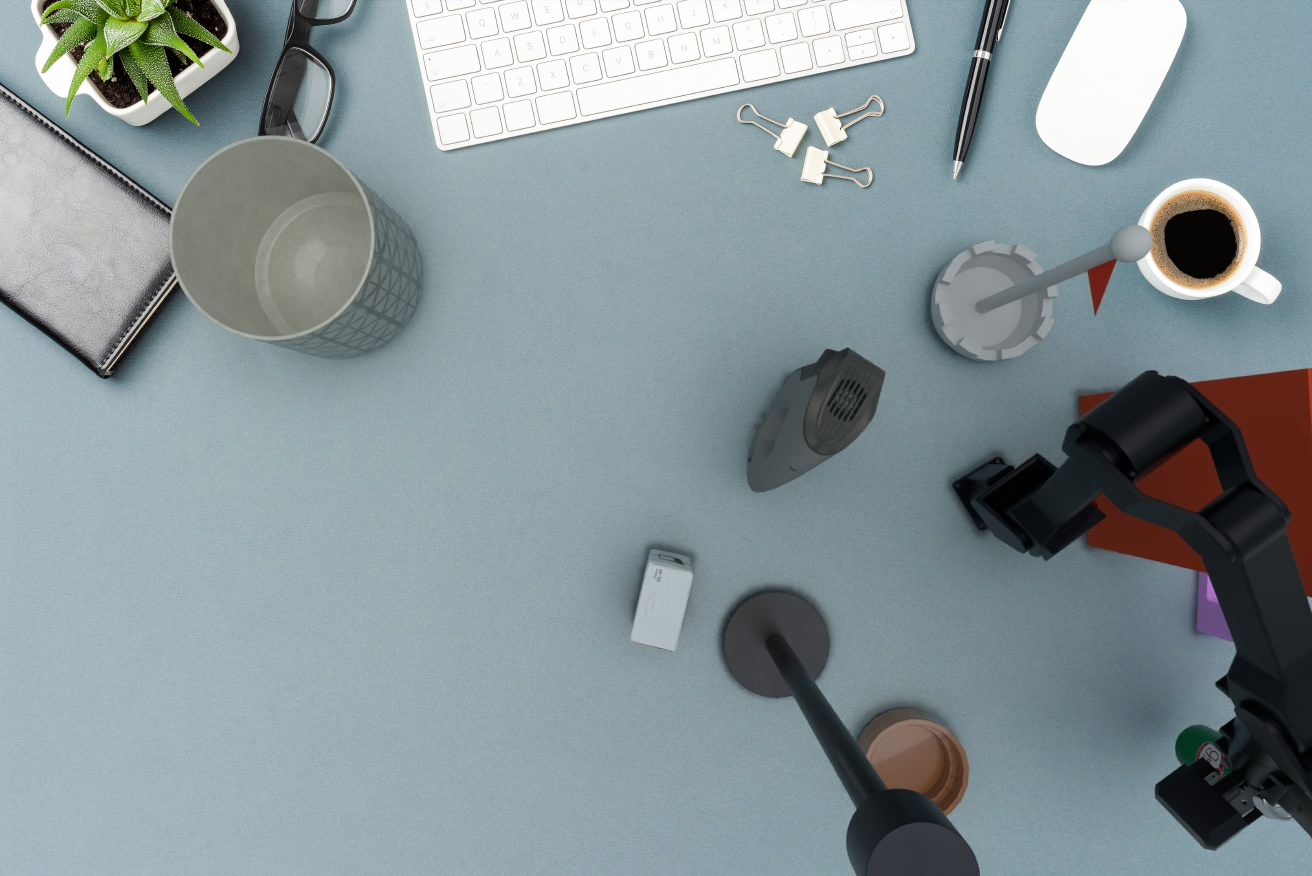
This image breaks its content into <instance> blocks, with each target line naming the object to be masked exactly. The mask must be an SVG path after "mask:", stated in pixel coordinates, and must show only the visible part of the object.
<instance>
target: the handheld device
mask: <svg viewBox="0 0 1312 876" xmlns="http://www.w3.org/2000/svg"><path fill="white" fill-rule="evenodd" d="M885 377H886V371H885V370H884V369H883V368H881V367H879V366H877V365H876V364H874V363H873V362H872V361H870V360H868V359H867V358H865V357H864V356H862V355H861V354H859V353H857V352H856V351H855V350H853V349H852V348H850V347H848V346H847V347H845V348H843V349H841V350H836V349H832V348H825V350H824V351H823V352H822V353H821V355H820V356H819V358H818V359H817V360H816V361H815V362H812V363H810V364H806V365H803V366H801V367H799V368H797V369H796V370H794V371H793V372H792V373H791V374H790V375H789V377H788V378H787V379H786V380H785V382H784V383H783V385H782V386H781V388H780V389H779V391H778V392H777V394H776V396H775V397H774V399H773V401H772V402H771V404H770V406H769V407H768V409H767V411H766V413H765V415H764V417H763V419H762V421H761V423H760V425H759V426H758V429H757V430H756V433H755V435H754V437H753V439H752V442H751V443H750V447H749V450H748V456H747V467H746V477H747V485H748V487H749V488H750V490H751V491H752V492H753V493H765V492H768V491H771V490H775V489H777V488H780V487H781V486H784V485H786V484H788V483H790V482H792V481H795V480H796V479H798V478H800V477H801V476H803V475H805V474H806V473H808V472H809V471H811V470H813V469H815V468H816V467H818V466H819V465H821V464H823V463H824V462H826V461H828V460H829V459H830V458H833V457H834V456H836V455H837V454H839V453H840V452H842V451H843V450H845V449H846V448H847V447H849V446H850V445H851V444H852V443H854V442H855V441H856V440H857V439H858V438H859V437H860V436H861V434H863V432H864V431H865V430H866V429H867V427H869V425H870V423H871V422H872V420H873V419H874V417H875V415H876V412H877V408H878V405H879V400H880V397H881V394H882V389H883V386H884V383H885V382H884V381H885Z"/></svg>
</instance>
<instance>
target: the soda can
mask: <svg viewBox="0 0 1312 876" xmlns="http://www.w3.org/2000/svg"><path fill="white" fill-rule="evenodd" d="M1218 731H1219V730H1216V729H1214V728H1212V727H1210V726H1208V725H1204V724H1193V725H1190V726H1187V727H1186V728H1184V729H1183V730H1181V732H1180V733H1178V735H1177V737H1176V740H1175V742H1174V743H1175V744H1174V752H1175V757H1176V759H1177V761H1178V762H1179V764H1180V766H1181V765H1183V764H1184V763H1185V764H1186V765H1188V766H1190V765H1192V764H1193V763H1194V762H1196V761H1197V760H1199V759H1200V758H1201V757H1204V758H1205V759H1206V760H1207V761H1208V762H1209V763H1210V764H1211V765H1212V766H1213V767H1214V768H1215V769H1216V770H1217V771H1218V772H1219V773H1221V774H1222V773H1225V774H1226V775H1228V774H1229V773H1230V772H1232V771H1233V770H1232V768H1231V767H1230V766H1229V767H1230V768H1231V770H1230V771H1229V770H1227V769H1226V768H1225V767H1223V766H1222V765H1221V763H1220V761H1221V759H1222V758H1224V757H1225V755H1224V754H1222V753H1221V752H1220V751H1219V750H1218V749H1217V748H1216V747H1215V746H1214V742H1215V741H1217V740H1218V739H1219V738H1221V737H1222V736H1223V735H1222V734H1220V733H1219V732H1218ZM1243 786H1246V787H1248V786H1247V782H1244V783H1242V784H1241V785H1240V786H1238V787H1239V788H1242V789H1243V790H1244V788H1243ZM1252 799H1253V802H1254V805H1255V806H1256V807H1257V808H1258V809H1259V810H1260V811H1261V812H1262V813H1263V814H1264V815H1262V816H1263V817H1265V818H1267V819H1271V820H1277V821H1278V820H1279V821H1282V822H1283V821H1284V822H1291V821H1296V820H1295V819H1294V818H1293V817H1292V816H1291V815H1290V814H1289V813H1287V812H1286V811H1285V810H1284V809H1283V808H1282V807H1281V806H1279V805H1278V804H1277V805H1275V806H1274V807H1272V806H1271V805H1270V804H1269V803H1268V802H1267V801H1266V800H1265V799H1263V798H1262V797H1261V796H1260V795H1259V794H1257V795H1256V796H1254V797H1253V798H1252Z"/></svg>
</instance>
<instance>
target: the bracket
mask: <svg viewBox="0 0 1312 876" xmlns="http://www.w3.org/2000/svg"><path fill="white" fill-rule="evenodd" d="M1197 589H1198V590H1197V608H1196V609H1197V610H1196V611H1197V613H1196V614H1197V615H1196V631H1197V632H1201V633H1203V634H1206V635H1210V636H1212V637H1215V638H1218V639H1222V640H1224V641H1227V642H1230V643H1234V641H1233V638H1232V636H1231V633H1230V631H1229V628H1228V625H1227V623H1226V620H1225V618H1224V615H1223V612H1222V610H1221V607H1220V605H1219V602H1218V599H1217V597H1216V594H1215V592H1214V589H1213V586H1212V584H1211V581H1210V579H1209V576H1208V573H1204V572H1200V571H1198V588H1197Z"/></svg>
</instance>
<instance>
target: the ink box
mask: <svg viewBox="0 0 1312 876" xmlns="http://www.w3.org/2000/svg"><path fill="white" fill-rule="evenodd" d="M693 571H694V570H693V567H692V562H691V558H690V556H687V555H684V554H680V553H675V552H672V551H671V552H670V551H667V550H661V549H657V548H651V549H650V550H649V554H648V558H647V561H646V566H645V569H644V573H643V577H642V583H641V585H640V591H639V596H638V600H637V605H636V608H635V612H634V613H635V614H634V619H633V624H632V628H631V633H630V638H629V639H630V640H629V641H630V642H629V643H630V644H634V645H638V646H641V647H646V648H650V649H654V650H660V651H663V652H669V653H676V651H677V647H678V643H679V640H680V635H681V631H682V627H683V622H684V617H685V614H686V611H687V610H686V609H687V605H688V601H689V596H690V594H691V593H690V592H691V589H692V588H691V587H692V585H693V584H692V583H693V579H694V572H693Z"/></svg>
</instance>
